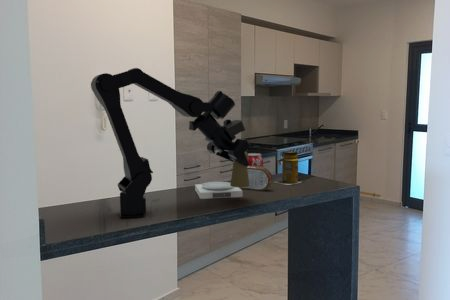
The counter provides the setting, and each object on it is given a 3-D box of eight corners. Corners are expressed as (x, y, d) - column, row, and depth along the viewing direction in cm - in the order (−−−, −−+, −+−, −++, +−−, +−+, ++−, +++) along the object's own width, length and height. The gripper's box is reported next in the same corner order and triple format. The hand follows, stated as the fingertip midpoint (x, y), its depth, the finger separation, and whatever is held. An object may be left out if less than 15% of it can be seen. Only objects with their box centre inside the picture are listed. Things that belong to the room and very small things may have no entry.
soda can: (266, 185, 154) (266, 153, 152) (257, 189, 148) (257, 155, 146) (249, 183, 157) (249, 152, 156) (240, 186, 151) (240, 154, 150)
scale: (200, 199, 132) (200, 190, 132) (195, 190, 146) (195, 181, 146) (242, 197, 135) (242, 188, 135) (233, 188, 149) (233, 180, 149)
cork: (247, 187, 126) (248, 152, 125) (228, 186, 127) (228, 151, 126) (250, 184, 132) (251, 150, 131) (232, 183, 133) (232, 149, 132)
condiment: (302, 182, 160) (303, 151, 158) (289, 185, 154) (289, 153, 152) (287, 180, 165) (287, 150, 163) (274, 182, 159) (274, 152, 158)
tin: (272, 190, 145) (273, 167, 144) (269, 192, 142) (269, 168, 141) (235, 186, 152) (234, 164, 151) (231, 188, 149) (231, 165, 148)
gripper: (244, 111, 117) (276, 148, 123) (215, 110, 133) (244, 143, 140) (220, 140, 114) (253, 176, 120) (193, 135, 130) (223, 167, 137)
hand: (243, 164), depth 129 cm, fingers closed on cork, 5 cm apart
